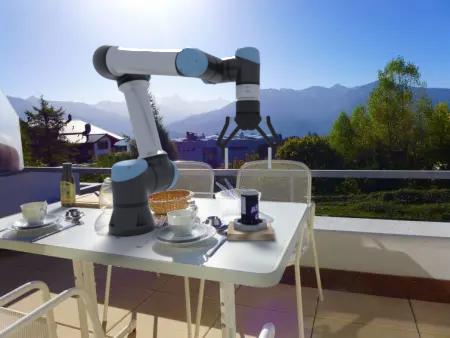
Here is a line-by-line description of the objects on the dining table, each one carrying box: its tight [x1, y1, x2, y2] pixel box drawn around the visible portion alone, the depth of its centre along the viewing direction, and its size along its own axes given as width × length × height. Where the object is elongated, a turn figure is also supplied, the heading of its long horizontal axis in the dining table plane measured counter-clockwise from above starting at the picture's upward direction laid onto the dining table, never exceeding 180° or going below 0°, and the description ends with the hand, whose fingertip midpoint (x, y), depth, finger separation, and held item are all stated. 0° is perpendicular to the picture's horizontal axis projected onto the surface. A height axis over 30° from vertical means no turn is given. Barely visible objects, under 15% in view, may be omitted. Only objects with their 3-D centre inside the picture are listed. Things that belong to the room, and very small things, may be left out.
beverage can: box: [240, 188, 260, 224], centre depth 103 cm, size 6×6×12 cm
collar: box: [233, 217, 267, 232], centre depth 104 cm, size 10×10×2 cm
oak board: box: [226, 220, 275, 241], centre depth 104 cm, size 14×14×2 cm
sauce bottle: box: [59, 162, 77, 208], centre depth 149 cm, size 7×6×20 cm
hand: (248, 168), depth 102 cm, fingers open, 13 cm apart
